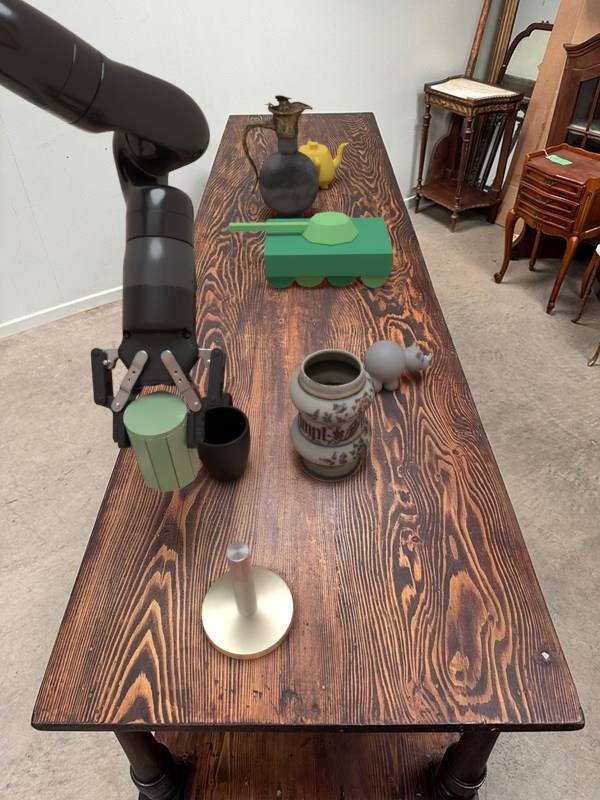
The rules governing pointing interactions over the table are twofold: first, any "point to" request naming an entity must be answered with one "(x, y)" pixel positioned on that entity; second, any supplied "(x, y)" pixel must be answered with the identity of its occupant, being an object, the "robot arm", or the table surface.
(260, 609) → the towel holder
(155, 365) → the robot arm
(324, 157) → the teapot
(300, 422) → the apothecary jar
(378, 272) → the toy tank
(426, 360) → the chubby cartoon animal
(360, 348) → the table surface
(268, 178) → the pitcher
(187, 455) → the green grooved cylinder
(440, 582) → the table surface
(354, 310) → the table surface
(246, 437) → the mug
